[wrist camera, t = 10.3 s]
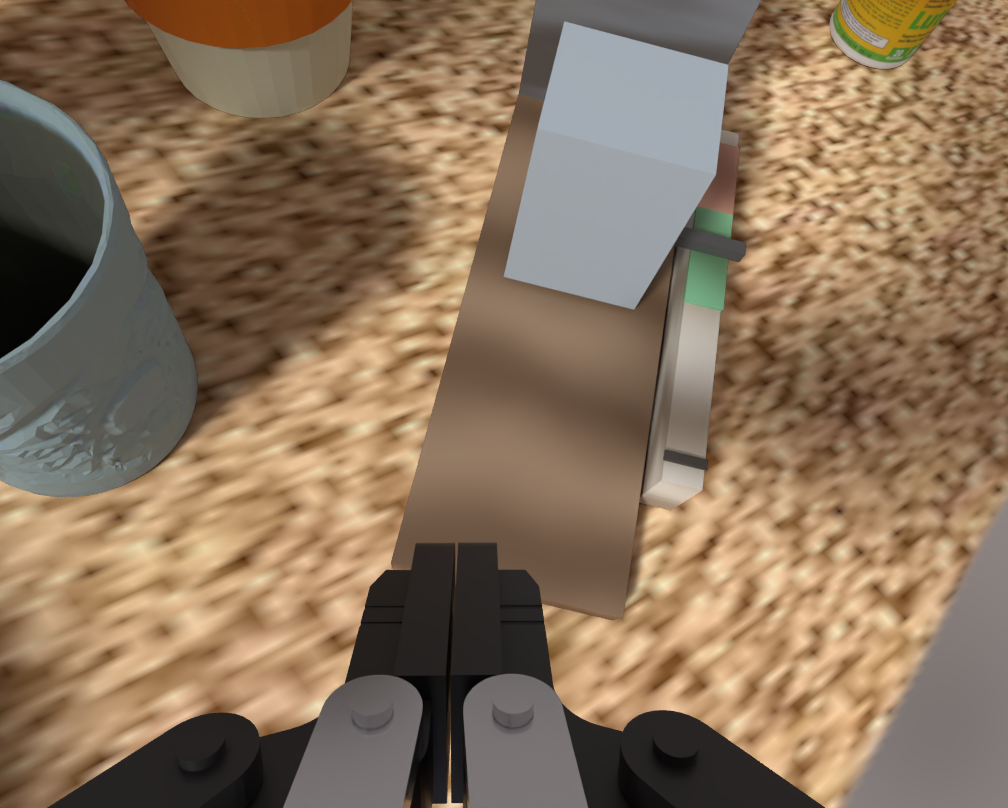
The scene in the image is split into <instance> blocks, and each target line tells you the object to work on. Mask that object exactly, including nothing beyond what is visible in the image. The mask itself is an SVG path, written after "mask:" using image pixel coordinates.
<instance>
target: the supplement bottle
mask: <svg viewBox="0 0 1008 808" xmlns="http://www.w3.org/2000/svg"><path fill="white" fill-rule="evenodd" d="M956 1H957V0H840V2H839V3H838V5H837V7H836V8H835V10H834V12H833V14H832V16H831V19H830V32H831V36H832V38H833V40H834V42H835V44H836V45H837V47H838V48H839V49H840V50H841V51H842V52H843V53H844V54H845V55H847V56H848V57H850V58H851V59H853V60H854V61H856V62H858V63H860V64H862V65H865V66H868V67H872V68H877V69H891V68H895V67H898V66H900V65H902V64H904V63H905V62H906V61H908V60H909V59H910V58H911V56H912V55H913V54H914V53H915V52H916V51H917V49H918V48H919V47H920V46H921V45H922V43H923V42H924V41H925V40H926V38H927V37H928V36H929V35H930V33H931V32H932V31H933V30H934V28H935V27H936V26H937V25H938V24H939V22H940V21H941V20H942V19H943V17H944V16H945V15H946V14H947V12H948V11H949V10H950V9H951V8H952V6H953V5H954V4H955V3H956Z"/></svg>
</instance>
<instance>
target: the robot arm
mask: <svg viewBox="0 0 1008 808" xmlns="http://www.w3.org/2000/svg"><path fill="white" fill-rule="evenodd" d="M450 735H451V803H463V808H825V807H823V806H822V805H821V804H819V803H818V802H816V801H815V800H813V799H812V798H811V797H809V796H808V795H806V794H805V793H803V792H802V791H800V790H799V789H798V788H796V787H795V786H793V785H792V784H790V783H789V782H788V781H786V780H785V779H783V778H782V777H780V776H779V775H778V774H776V773H775V772H773V771H772V770H770V769H769V768H768V767H766V766H765V765H763V764H762V763H760V762H759V761H758V760H756V759H755V758H753V757H752V756H750V755H749V754H748V753H746V752H745V751H743V750H742V749H740V748H739V747H738V746H736V745H735V744H733V743H732V742H730V741H729V740H728V739H726V738H725V737H723V736H722V735H720V734H719V733H718V732H716V731H715V730H713V729H712V728H710V727H709V726H708V725H706V724H705V723H703V722H701V721H700V720H698V719H696V718H694V717H692V716H689V715H686V714H683V713H680V712H675V711H666V710H658V711H650V712H646V713H643V714H641V715H638V716H637V717H635V718H633V719H632V720H631V721H630V722H629V723H628V724H627V725H626V727H625V728H624V730H623V732H622V731H619V730H615V729H611V728H607V727H603V726H599V725H596V724H593V723H590V722H588V721H586V720H583V719H581V718H580V717H578V716H576V715H575V714H573V713H572V712H571V711H570V710H568V709H567V708H566V707H565V706H564V705H563V704H562V703H561V701H560V698H559V697H558V695H557V694H556V692H555V690H554V686H553V681H552V674H551V667H550V660H549V652H548V645H547V638H546V631H545V625H544V617H543V609H542V602H541V595H540V588H539V585H538V584H537V583H536V582H535V580H534V579H533V578H532V577H531V576H530V574H529V573H528V572H527V571H526V570H498V555H497V542H458V555H457V572H456V573H455V543H416V544H415V549H414V555H413V561H412V567H411V570H386V571H385V572H384V573H383V574H382V575H381V576H380V577H379V578H378V579H377V580H376V581H375V582H374V583H373V584H372V585H371V586H370V589H369V593H368V597H367V600H366V604H365V610H364V612H363V616H362V620H361V626H360V627H359V631H358V635H357V639H356V643H355V646H354V650H353V654H352V658H351V662H350V666H349V669H348V673H347V677H346V681H345V684H343V685H342V686H340V687H339V688H338V689H336V690H335V691H334V692H333V693H332V694H331V695H330V696H329V697H328V699H327V700H326V701H325V703H324V705H323V707H322V710H321V712H320V715H319V717H317V718H316V719H314V720H312V721H310V722H308V723H306V724H304V725H301V726H299V727H296V728H292V729H289V730H285V731H282V732H278V733H274V734H270V735H266V736H262V737H259V734H258V730H257V729H256V727H255V725H254V724H253V723H252V722H251V721H250V720H248V719H246V718H245V717H243V716H240V715H237V714H232V713H210V714H205V715H201V716H197V717H194V718H191V719H189V720H187V721H184V722H182V723H180V724H178V725H177V726H175V727H173V728H172V729H170V730H168V731H167V732H165V733H164V734H162V735H161V736H159V737H157V738H156V739H154V740H153V741H151V742H150V743H148V744H146V745H145V746H143V747H142V748H140V749H139V750H137V751H136V752H134V753H132V754H131V755H129V756H128V757H126V758H125V759H123V760H121V761H120V762H118V763H117V764H115V765H114V766H112V767H110V768H109V769H107V770H106V771H104V772H103V773H101V774H100V775H98V776H96V777H95V778H93V779H92V780H90V781H89V782H87V783H85V784H84V785H82V786H81V787H79V788H78V789H76V790H74V791H73V792H71V793H70V794H68V795H67V796H65V797H64V798H62V799H60V800H59V801H57V802H56V803H54V804H53V805H51V806H49V807H48V808H432V804H446V803H447V793H448V773H449V754H450Z"/></svg>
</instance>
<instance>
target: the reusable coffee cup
mask: <svg viewBox="0 0 1008 808" xmlns="http://www.w3.org/2000/svg"><path fill="white" fill-rule="evenodd" d="M125 2H126V3H127V4H128V6H130V7H131V8H132V9H133V10H134V11H135V12H136V13H137V14H138V15H139V16H141V17H142V18H143V19H144V20H146V22H147V24H148V25H149V27H150V29H151V31H152V32H153V34H154V36H155V38H156V39H157V41H158V43H159V45H160V46H161V48H162V50H163V52H164V53H165V55H166V57H167V59H168V60H169V62H170V64H171V66H172V67H173V69H174V71H175V73H176V74H177V76H178V78H179V79H180V80H181V82H182V83H183V85H184V86H185V88H186V89H187V90H189V91H190V92H191V93H192V94H193V95H194V96H195V97H196V98H197V99H199V100H201V101H202V102H204V103H206V104H207V105H209V106H211V107H213V108H215V109H218V110H220V111H223V112H225V113H229V114H233V115H238V116H242V117H251V118H272V117H282V116H287V115H291V114H295V113H299V112H301V111H304V110H306V109H308V108H311V107H313V106H315V105H317V104H318V103H320V102H321V101H323V100H324V99H326V98H327V97H328V96H329V95H330V94H331V93H332V92H333V91H335V90H336V89H337V88H338V86H339V85H340V83H341V82H342V80H343V78H344V77H345V75H346V72H347V69H348V66H349V61H350V44H351V24H352V5H353V0H125Z"/></svg>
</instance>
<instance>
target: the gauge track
mask: <svg viewBox="0 0 1008 808" xmlns="http://www.w3.org/2000/svg"><path fill="white" fill-rule="evenodd" d="M760 1H761V0H536V2H535V8H534V13H533V18H532V24H531V29H530V35H529V40H528V46H527V51H526V57H525V62H524V68H523V73H522V79H521V84H520V90H519V95H518V98H517V102H516V106H515V109H514V113H513V117H512V120H511V124H510V128H509V131H508V135H507V139H506V143H505V146H504V150H503V154H502V157H501V161H500V165H499V168H498V172H497V176H496V179H495V183H494V187H493V190H492V194H491V198H490V201H489V205H488V209H487V212H486V216H485V220H484V223H483V227H482V231H481V234H480V238H479V242H478V245H477V249H476V253H475V256H474V260H473V264H472V267H471V271H470V275H469V278H468V282H467V286H466V289H465V293H464V297H463V300H462V304H461V308H460V311H459V315H458V319H457V322H456V326H455V330H454V333H453V337H452V341H451V344H450V348H449V352H448V355H447V359H446V363H445V366H444V370H443V374H442V377H441V381H440V385H439V388H438V392H437V396H436V399H435V403H434V407H433V410H432V414H431V418H430V421H429V425H428V429H427V432H426V436H425V440H424V443H423V447H422V451H421V454H420V458H419V462H418V465H417V469H416V473H415V476H414V480H413V484H412V487H411V491H410V495H409V498H408V502H407V506H406V509H405V513H404V517H403V520H402V524H401V528H400V531H399V535H398V539H397V542H396V546H395V550H394V553H393V557H392V561H391V565H392V569H397V570H411V567H412V561H413V555H414V549H415V544H416V543H455V573H456V572H457V555H458V542H497V555H498V570H526V571H527V572H528V573H529V574H530V576H531V577H532V578H533V579H534V580H535V582H536V583H537V584H538V585H539V588H540V595H541V602H542V604H546V605H550V606H554V607H558V608H563V609H567V610H571V611H575V612H580V613H584V614H588V615H592V616H597V617H601V618H605V619H609V620H615V619H619V618H623V615H624V608H625V601H626V593H627V586H628V579H629V572H630V565H631V557H632V550H633V543H634V536H635V529H636V521H637V514H638V507H639V503H642V504H646V505H650V506H655V507H659V508H663V509H667V510H672V509H673V508H675V507H677V506H678V505H680V504H681V503H683V502H684V501H686V500H687V499H689V498H691V497H692V496H694V495H695V494H697V493H698V492H700V491H702V488H703V478H704V470H705V471H706V470H707V466H708V460H707V459H706V449H707V439H708V429H709V420H710V410H711V400H712V391H713V381H714V371H715V362H716V352H717V342H718V333H719V323H720V313H721V311H723V309H724V299H725V289H726V279H727V269H728V260H729V259H725V258H721V257H717V256H713V255H709V254H705V253H701V252H697V251H693V250H689V249H686V248H682V247H678V246H674V245H673V246H672V248H671V250H670V251H669V253H668V255H667V256H666V258H665V260H664V261H663V263H662V265H661V266H660V268H659V270H658V271H657V273H656V275H655V276H654V278H653V280H652V281H651V283H650V284H649V286H648V288H647V289H646V291H645V293H644V294H643V296H642V298H641V299H640V301H639V303H638V304H637V306H636V308H635V309H634V310H633V309H629V308H626V307H622V306H618V305H614V304H610V303H606V302H602V301H598V300H594V299H590V298H586V297H582V296H578V295H574V294H570V293H566V292H562V291H558V290H554V289H550V288H546V287H542V286H538V285H534V284H530V283H526V282H522V281H518V280H514V279H510V278H506V277H504V273H505V269H506V264H507V260H508V255H509V251H510V247H511V242H512V238H513V233H514V229H515V225H516V220H517V216H518V212H519V207H520V203H521V198H522V194H523V190H524V185H525V181H526V176H527V172H528V168H529V163H530V159H531V155H532V150H533V146H534V141H535V137H536V133H537V128H538V124H539V120H540V116H541V112H542V108H543V104H544V100H545V96H546V92H547V89H548V85H549V81H550V77H551V73H552V69H553V65H554V61H555V57H556V53H557V49H558V45H559V41H560V37H561V33H562V29H563V25H564V21H565V22H569V23H572V24H576V25H580V26H584V27H588V28H591V29H595V30H599V31H603V32H606V33H610V34H614V35H618V36H621V37H625V38H629V39H633V40H636V41H640V42H644V43H648V44H651V45H655V46H659V47H663V48H667V49H670V50H674V51H678V52H682V53H685V54H689V55H693V56H697V57H700V58H704V59H708V60H712V61H715V62H719V63H723V64H727V65H728V63H729V61H730V60H731V58H732V56H733V54H734V52H735V50H736V48H737V46H738V44H739V42H740V40H741V38H742V36H743V34H744V32H745V30H746V29H747V27H748V25H749V23H750V21H751V19H752V17H753V15H754V13H755V11H756V9H757V7H758V5H759V3H760ZM738 139H739V134H738V133H734V132H730V131H726V130H722V129H721V136H720V144H719V153H718V162H717V170H716V175H715V177H714V179H713V180H712V182H711V184H710V185H709V187H708V189H707V190H706V192H705V194H704V195H703V197H702V199H701V200H700V202H699V204H698V205H697V207H696V209H695V210H694V212H693V213H692V215H691V217H690V218H689V220H688V222H687V223H686V225H685V227H687V228H691V229H695V230H698V231H702V232H706V233H710V234H714V235H718V236H722V237H726V238H730V239H731V230H732V220H733V210H734V201H735V191H736V181H737V171H738V161H739V151H740V148H739V147H738Z"/></svg>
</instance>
